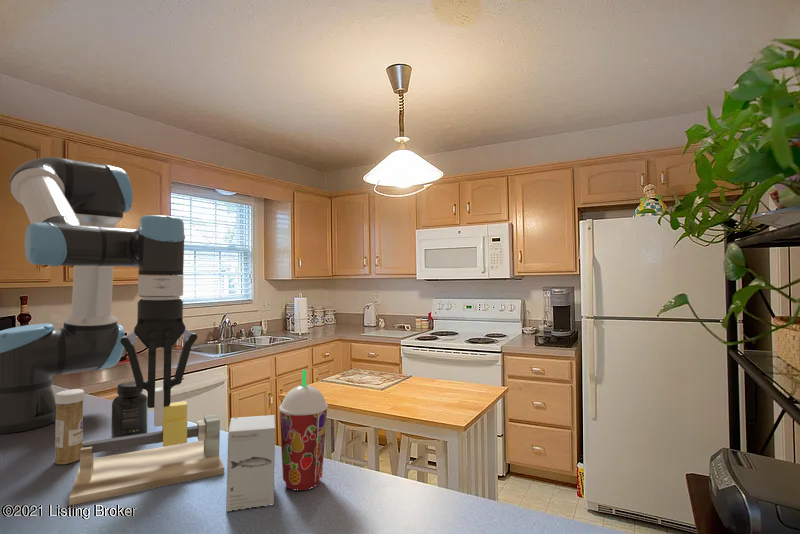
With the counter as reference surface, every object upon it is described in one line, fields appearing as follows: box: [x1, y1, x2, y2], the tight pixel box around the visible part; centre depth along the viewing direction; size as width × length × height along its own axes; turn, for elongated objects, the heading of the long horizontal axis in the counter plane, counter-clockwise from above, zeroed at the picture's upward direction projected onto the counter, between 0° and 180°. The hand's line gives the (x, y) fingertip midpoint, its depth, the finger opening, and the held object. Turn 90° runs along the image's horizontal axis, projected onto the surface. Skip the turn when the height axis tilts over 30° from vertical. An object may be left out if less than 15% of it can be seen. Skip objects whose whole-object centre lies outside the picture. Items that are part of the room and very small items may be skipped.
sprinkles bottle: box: [54, 388, 85, 465], centre depth 87 cm, size 5×5×14 cm
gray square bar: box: [83, 425, 198, 454], centre depth 83 cm, size 2×21×2 cm, turn 120°
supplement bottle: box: [110, 381, 149, 438], centre depth 99 cm, size 7×7×12 cm
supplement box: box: [225, 414, 276, 513], centre depth 73 cm, size 7×7×13 cm
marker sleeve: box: [161, 400, 188, 447], centre depth 85 cm, size 4×4×7 cm
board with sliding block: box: [68, 413, 225, 506], centre depth 83 cm, size 16×23×8 cm
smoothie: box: [278, 369, 329, 491], centre depth 79 cm, size 8×8×20 cm
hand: (158, 423), depth 84 cm, fingers closed
